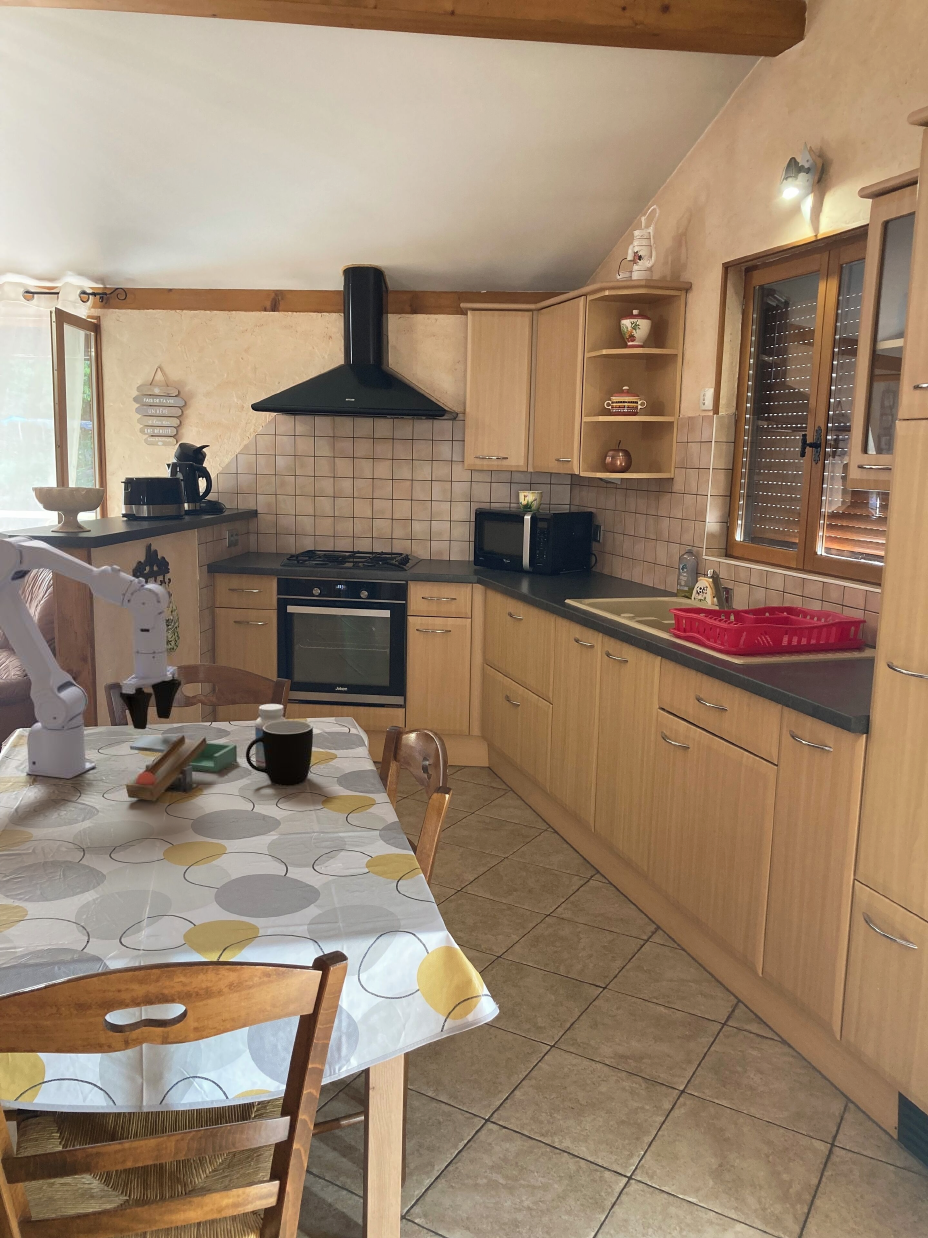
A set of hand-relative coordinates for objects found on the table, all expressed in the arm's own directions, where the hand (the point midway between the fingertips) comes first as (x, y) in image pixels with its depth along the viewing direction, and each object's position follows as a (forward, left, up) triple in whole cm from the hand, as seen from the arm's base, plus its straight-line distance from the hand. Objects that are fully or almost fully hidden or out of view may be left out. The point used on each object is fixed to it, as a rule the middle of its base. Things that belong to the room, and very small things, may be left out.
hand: (152, 723), depth 173 cm
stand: (+7, -6, -9) cm, 13 cm away
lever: (+3, -6, -7) cm, 10 cm away
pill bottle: (+18, +12, -10) cm, 24 cm away
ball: (+7, -14, -6) cm, 16 cm away
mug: (+24, +3, -10) cm, 26 cm away
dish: (+7, +7, -9) cm, 14 cm away
